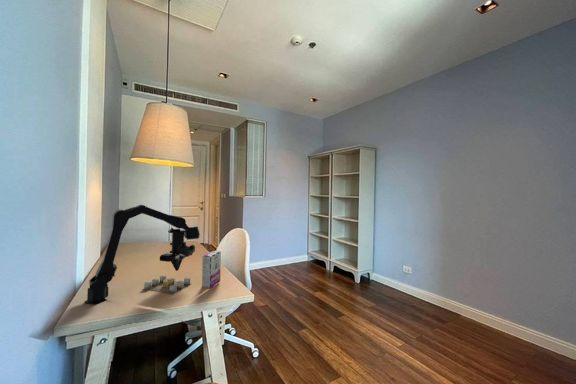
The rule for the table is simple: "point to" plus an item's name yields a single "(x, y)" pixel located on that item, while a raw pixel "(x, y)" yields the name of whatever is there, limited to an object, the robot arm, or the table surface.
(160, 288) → the board
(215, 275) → the candy bar box
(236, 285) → the table surface
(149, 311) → the table surface
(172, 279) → the hexagonal box
